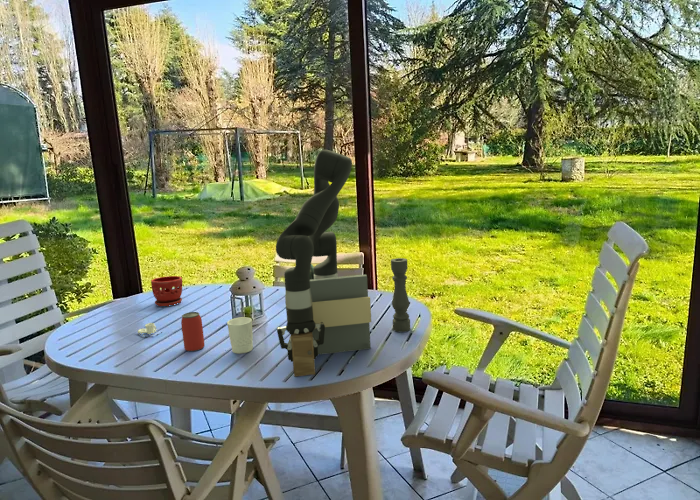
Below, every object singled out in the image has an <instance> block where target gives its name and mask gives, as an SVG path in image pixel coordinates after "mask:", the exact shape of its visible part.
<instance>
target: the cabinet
mask: <svg viewBox="0 0 700 500" xmlns="http://www.w3.org/2000/svg"><path fill="white" fill-rule="evenodd" d="M290 336H291V342H292V354H293V362H292V365H293V376H294V377H303V376H312V375H316V366H315V359H314V348H313V335H312V332H310V333H308V334H306V333H301V334H298V335H293V334H290Z"/></svg>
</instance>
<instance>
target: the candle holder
mask: <svg viewBox="0 0 700 500" xmlns="http://www.w3.org/2000/svg"><path fill="white" fill-rule="evenodd" d="M390 269H391V272H392V275H393V276H391V279H392V281H393V282H394V290H393V295H392V299H391V306H392V309H393V310H394V313H393V315H392V318H393V319H392V330H393V331H394V332H397V333H405V332H409V331H411V319H410V314H408V309H409V307H410V299H409V296H408V293H407V287H406V281H407V279H408V276H407V275H406V273H407V271H408V258H403V257H399V258H398V257H397V258H393V259H391V260H390Z"/></svg>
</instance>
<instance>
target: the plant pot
mask: <svg viewBox="0 0 700 500" xmlns="http://www.w3.org/2000/svg"><path fill="white" fill-rule="evenodd" d="M150 281H151V282H150V284H151V289H152V290H151V291H152V295H153V297H154V298H155V301H154V304H155V305H156V306H157V305H158V307H161V306H167V307H170V306H169V305H173V306H175V305H174V304H176V305H178V304H177V303H179V304H180V303H181V302H182V301H183V297H181V296H182V294H183V278H182V276H177V275H169V276H168V275H167V276H160V277H156V278H153V279H151V280H150Z"/></svg>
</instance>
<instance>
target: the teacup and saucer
mask: <svg viewBox="0 0 700 500" xmlns="http://www.w3.org/2000/svg"><path fill="white" fill-rule="evenodd" d="M156 330H157V326H156V324H155V323H154V322H149V323H146V324H145V328H139V329H138V330H137V334H139V333H141V334H142V333H147V335H148V334H151V333H154V334H155V332H157V331H156Z"/></svg>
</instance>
